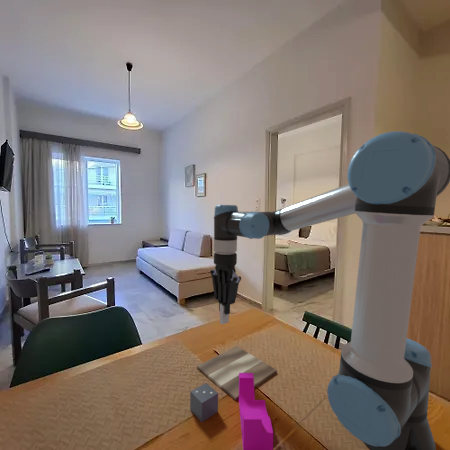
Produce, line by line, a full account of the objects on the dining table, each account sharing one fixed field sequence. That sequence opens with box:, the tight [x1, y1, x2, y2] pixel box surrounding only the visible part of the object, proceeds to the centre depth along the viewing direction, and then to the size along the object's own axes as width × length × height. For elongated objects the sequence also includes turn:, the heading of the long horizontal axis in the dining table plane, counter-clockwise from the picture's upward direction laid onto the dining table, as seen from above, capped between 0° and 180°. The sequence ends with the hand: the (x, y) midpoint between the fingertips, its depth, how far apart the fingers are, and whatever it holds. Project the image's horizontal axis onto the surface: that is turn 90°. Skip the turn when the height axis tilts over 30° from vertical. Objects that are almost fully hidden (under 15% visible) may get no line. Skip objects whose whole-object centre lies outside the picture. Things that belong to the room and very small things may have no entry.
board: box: [196, 345, 278, 401], centre depth 80 cm, size 18×18×1 cm
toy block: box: [238, 373, 274, 450], centre depth 61 cm, size 15×6×8 cm, turn 1°
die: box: [189, 382, 219, 423], centre depth 64 cm, size 5×5×5 cm
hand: (224, 322), depth 84 cm, fingers closed
